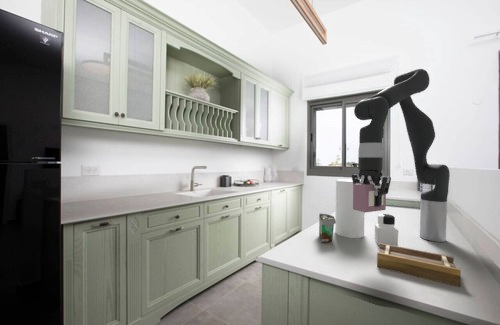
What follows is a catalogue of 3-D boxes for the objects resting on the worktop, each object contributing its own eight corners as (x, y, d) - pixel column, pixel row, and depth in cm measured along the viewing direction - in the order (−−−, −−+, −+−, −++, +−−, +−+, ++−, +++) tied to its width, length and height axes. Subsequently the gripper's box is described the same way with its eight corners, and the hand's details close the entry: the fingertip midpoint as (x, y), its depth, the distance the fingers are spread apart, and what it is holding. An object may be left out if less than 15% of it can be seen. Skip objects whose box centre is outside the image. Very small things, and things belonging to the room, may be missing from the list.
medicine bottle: (393, 241, 98) (393, 213, 97) (398, 247, 91) (398, 217, 91) (374, 239, 100) (375, 212, 100) (377, 245, 93) (378, 215, 93)
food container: (337, 245, 92) (338, 220, 92) (321, 244, 93) (322, 219, 93) (332, 235, 104) (333, 213, 104) (318, 234, 105) (319, 213, 105)
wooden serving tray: (379, 255, 83) (380, 243, 83) (452, 270, 72) (453, 256, 72) (377, 266, 74) (377, 252, 74) (460, 286, 63) (460, 270, 63)
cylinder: (360, 230, 112) (361, 179, 112) (367, 239, 100) (368, 182, 100) (333, 228, 115) (334, 179, 115) (336, 236, 103) (337, 181, 103)
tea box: (372, 207, 85) (373, 182, 84) (386, 210, 80) (386, 184, 80) (352, 209, 80) (353, 183, 80) (365, 212, 76) (366, 185, 76)
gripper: (397, 156, 75) (397, 208, 75) (360, 156, 88) (360, 200, 88) (382, 156, 72) (381, 210, 72) (346, 156, 85) (345, 202, 85)
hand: (369, 204), depth 80 cm, fingers closed on tea box, 5 cm apart
